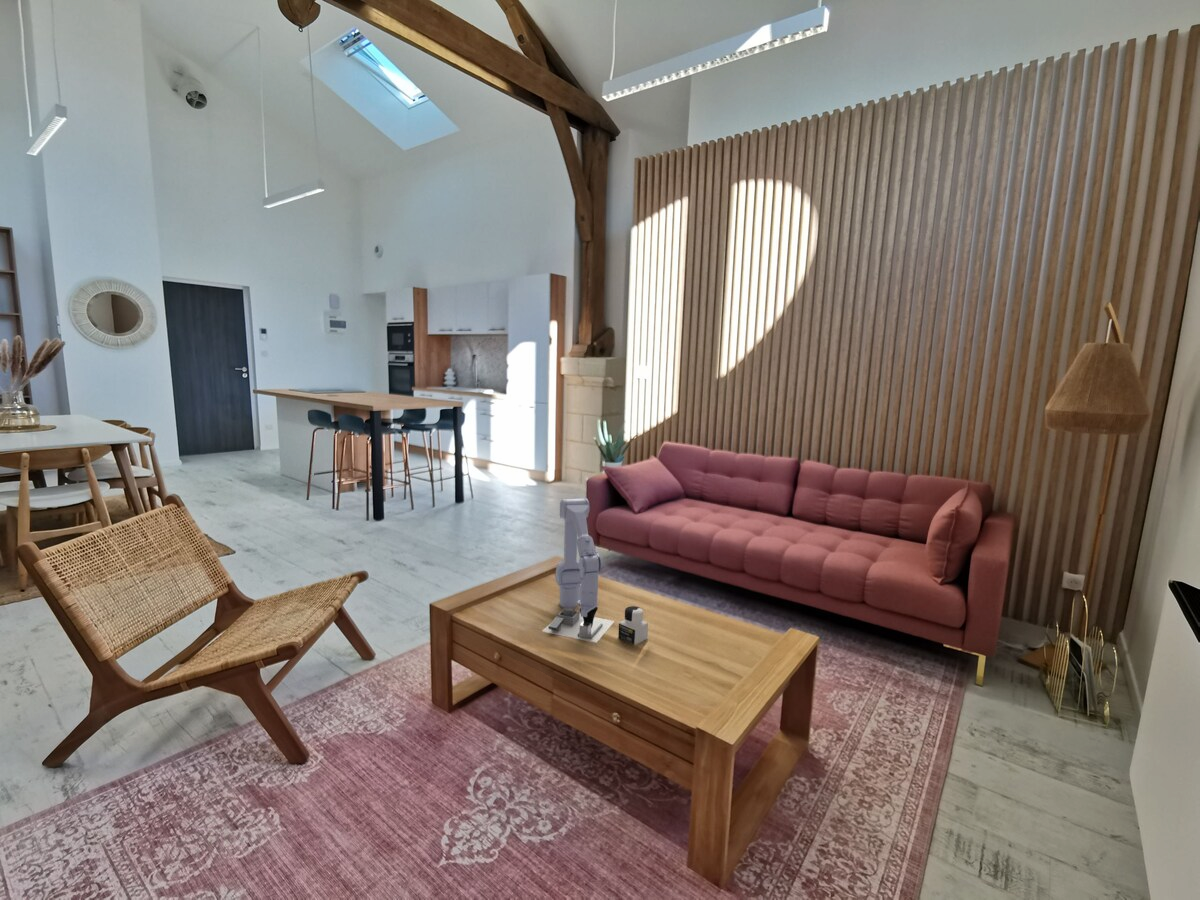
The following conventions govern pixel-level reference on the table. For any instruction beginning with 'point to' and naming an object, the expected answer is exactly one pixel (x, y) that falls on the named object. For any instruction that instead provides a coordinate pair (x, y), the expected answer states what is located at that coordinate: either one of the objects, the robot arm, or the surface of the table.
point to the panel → (572, 627)
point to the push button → (568, 611)
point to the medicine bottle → (633, 626)
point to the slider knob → (585, 629)
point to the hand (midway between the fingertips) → (588, 628)
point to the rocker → (556, 623)
